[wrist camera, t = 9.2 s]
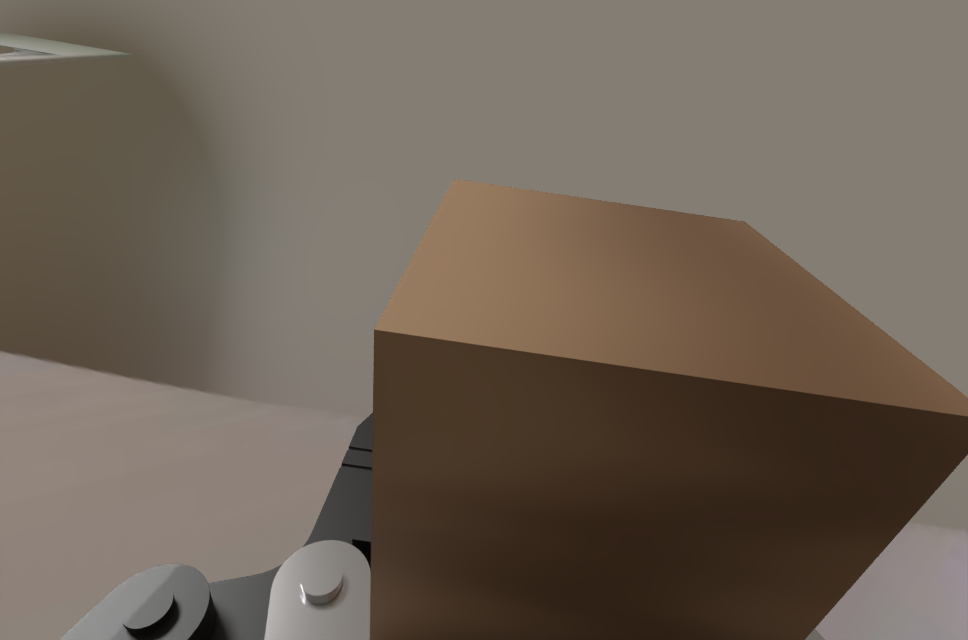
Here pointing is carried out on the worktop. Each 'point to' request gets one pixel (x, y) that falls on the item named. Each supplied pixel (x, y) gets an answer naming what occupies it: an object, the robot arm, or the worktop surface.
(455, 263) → the walnut block
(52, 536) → the worktop surface
